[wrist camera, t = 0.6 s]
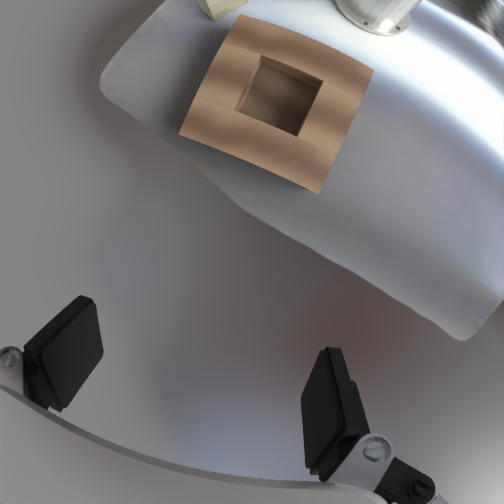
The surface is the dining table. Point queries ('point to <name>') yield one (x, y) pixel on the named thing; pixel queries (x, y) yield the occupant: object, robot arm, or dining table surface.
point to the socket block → (277, 101)
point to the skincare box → (219, 7)
